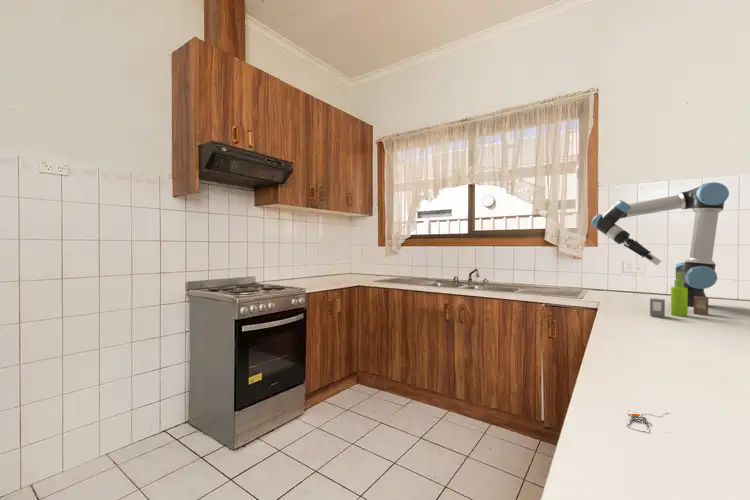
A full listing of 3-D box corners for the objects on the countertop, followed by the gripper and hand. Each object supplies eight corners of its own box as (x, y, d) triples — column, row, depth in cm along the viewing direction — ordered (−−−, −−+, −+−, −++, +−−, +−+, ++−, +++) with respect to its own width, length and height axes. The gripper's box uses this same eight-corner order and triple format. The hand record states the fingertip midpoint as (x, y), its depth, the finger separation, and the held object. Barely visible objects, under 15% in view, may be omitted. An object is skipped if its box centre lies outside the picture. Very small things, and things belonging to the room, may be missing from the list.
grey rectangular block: (650, 314, 164) (651, 298, 164) (664, 316, 161) (664, 299, 161) (650, 316, 161) (650, 299, 161) (664, 317, 157) (664, 300, 157)
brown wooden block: (693, 312, 170) (693, 296, 170) (707, 313, 166) (707, 297, 166) (693, 314, 166) (693, 297, 166) (708, 315, 162) (708, 298, 162)
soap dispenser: (693, 316, 160) (693, 273, 160) (677, 316, 160) (678, 273, 160) (682, 314, 166) (682, 272, 165) (667, 314, 166) (667, 272, 166)
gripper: (618, 239, 200) (657, 267, 185) (608, 240, 192) (648, 269, 178) (628, 229, 195) (669, 256, 181) (618, 230, 188) (660, 258, 174)
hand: (658, 263), depth 180 cm, fingers closed
